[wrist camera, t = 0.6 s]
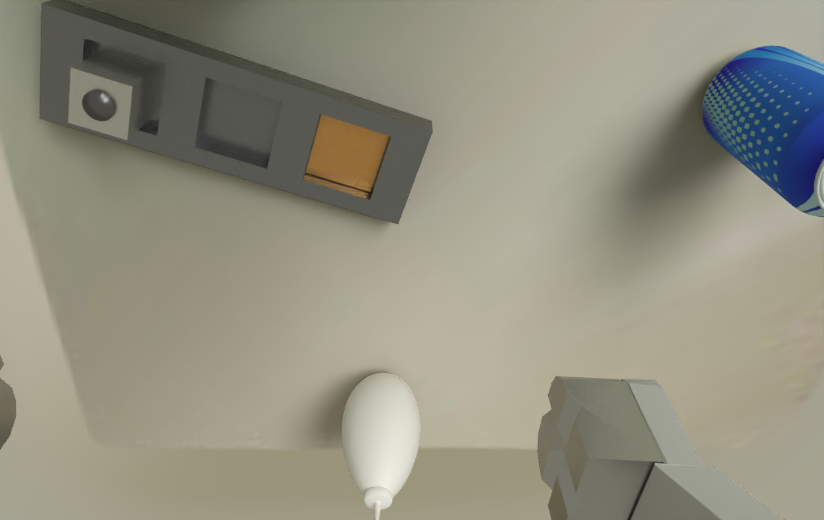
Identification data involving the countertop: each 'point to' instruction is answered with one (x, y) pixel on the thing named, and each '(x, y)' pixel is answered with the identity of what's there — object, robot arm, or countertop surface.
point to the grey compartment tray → (244, 115)
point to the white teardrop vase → (380, 437)
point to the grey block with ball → (112, 94)
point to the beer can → (773, 121)
